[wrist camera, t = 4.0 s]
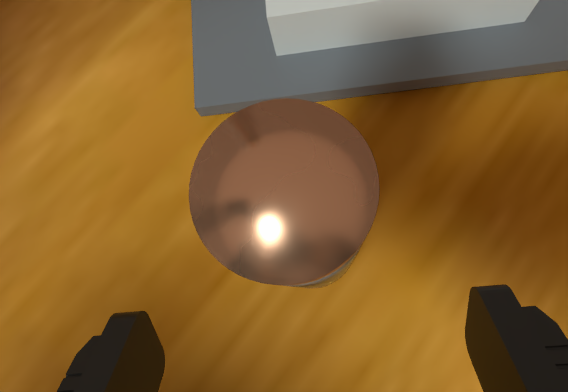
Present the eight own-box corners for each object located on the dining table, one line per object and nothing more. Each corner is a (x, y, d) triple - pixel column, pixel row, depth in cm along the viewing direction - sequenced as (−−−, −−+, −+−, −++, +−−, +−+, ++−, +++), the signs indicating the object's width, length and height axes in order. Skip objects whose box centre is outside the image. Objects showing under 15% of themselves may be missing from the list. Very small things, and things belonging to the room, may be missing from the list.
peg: (271, 291, 19) (191, 293, 9) (265, 206, 20) (186, 110, 9) (360, 284, 19) (392, 276, 8) (350, 197, 20) (366, 87, 9)
